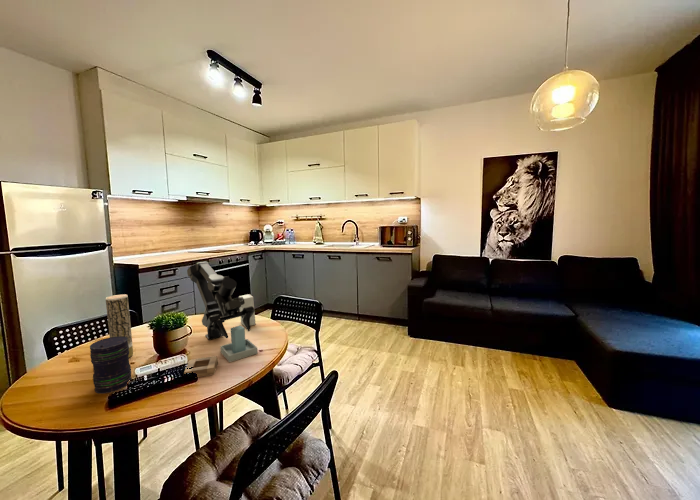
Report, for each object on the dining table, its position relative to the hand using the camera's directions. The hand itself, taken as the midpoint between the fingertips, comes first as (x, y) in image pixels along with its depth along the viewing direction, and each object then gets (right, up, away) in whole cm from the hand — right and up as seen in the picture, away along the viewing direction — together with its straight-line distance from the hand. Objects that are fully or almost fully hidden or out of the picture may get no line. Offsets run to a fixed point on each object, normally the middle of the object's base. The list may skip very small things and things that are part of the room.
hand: (238, 334), depth 118 cm
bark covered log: (-46, -9, -1) cm, 47 cm away
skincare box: (-9, -5, +35) cm, 36 cm away
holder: (-9, -10, -12) cm, 18 cm away
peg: (0, -7, +1) cm, 8 cm away
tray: (0, -8, +1) cm, 8 cm away
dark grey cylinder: (-34, -11, -21) cm, 41 cm away
